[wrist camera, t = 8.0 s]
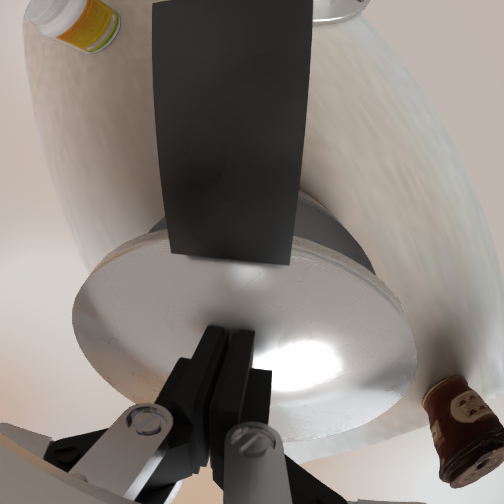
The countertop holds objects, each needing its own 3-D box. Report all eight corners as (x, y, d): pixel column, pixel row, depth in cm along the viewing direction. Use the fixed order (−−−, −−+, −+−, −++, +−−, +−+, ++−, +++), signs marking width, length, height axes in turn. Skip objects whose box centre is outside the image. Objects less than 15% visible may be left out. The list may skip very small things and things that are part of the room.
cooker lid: (351, 430, 18) (351, 470, 15) (134, 402, 19) (121, 438, 16) (525, 83, 4) (601, 115, 2) (9, 63, 6) (-63, 89, 3)
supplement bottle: (130, 11, 20) (77, -31, 11) (109, 56, 22) (45, 25, 12) (92, 12, 20) (37, -20, 11) (72, 54, 22) (10, 31, 12)
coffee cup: (437, 362, 27) (486, 444, 14) (483, 367, 26) (531, 434, 14) (403, 417, 29) (430, 498, 17) (449, 417, 29) (481, 486, 16)
